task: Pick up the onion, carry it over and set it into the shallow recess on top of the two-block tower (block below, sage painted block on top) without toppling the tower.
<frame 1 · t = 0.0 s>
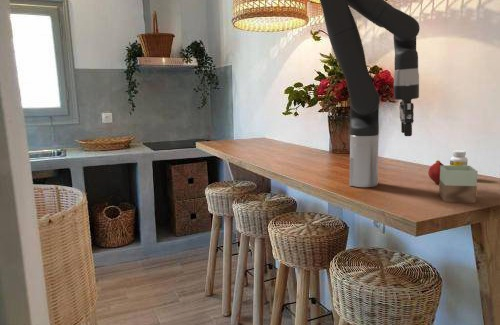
hand: (406, 134, 129), 17 cm above the worktop, tool pointing down, fingers open, 8 cm apart
onion: (437, 184, 133), on the worktop
supplement bottle: (457, 179, 139), on the worktop
bottom block: (456, 199, 116), on the worktop, touching top block
top block: (457, 182, 115), point 5 cm above the worktop, touching bottom block
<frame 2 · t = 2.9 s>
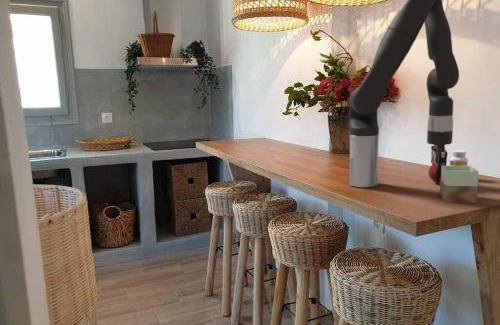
hand: (437, 178, 133), 2 cm above the worktop, tool pointing down, fingers closed on onion, 6 cm apart
onion: (437, 184, 133), on the worktop, touching gripper
bottom block: (457, 199, 116), on the worktop
top block: (458, 182, 115), point 5 cm above the worktop
everything else where it was.
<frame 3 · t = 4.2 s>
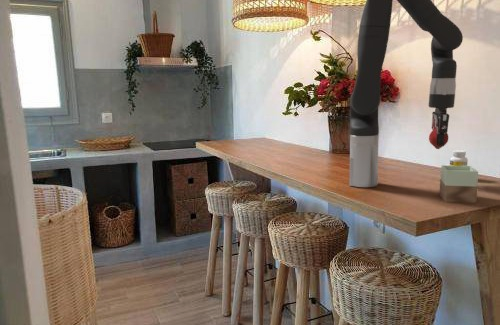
hand: (437, 144, 131), 13 cm above the worktop, tool pointing down, fingers closed on onion, 6 cm apart
onion: (437, 149, 131), point 12 cm above the worktop, touching gripper
bottom block: (457, 199, 116), on the worktop, touching top block
top block: (458, 182, 114), point 5 cm above the worktop, touching bottom block
everything else where it was.
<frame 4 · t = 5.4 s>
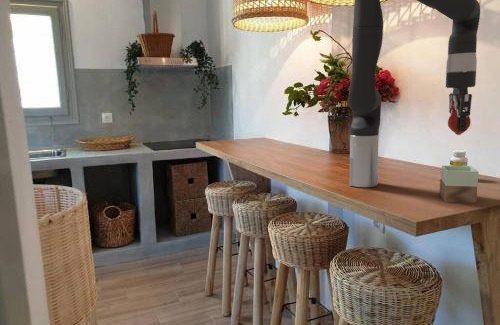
hand: (458, 129, 115), 20 cm above the worktop, tool pointing down, fingers closed on onion, 6 cm apart
onion: (458, 135, 115), point 18 cm above the worktop, touching gripper
everything else where it was.
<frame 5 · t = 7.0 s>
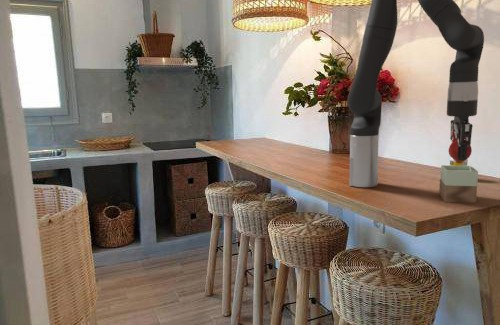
hand: (459, 157, 113), 12 cm above the worktop, tool pointing down, fingers closed on onion, 6 cm apart
onion: (459, 163, 114), point 10 cm above the worktop, touching gripper
bottom block: (456, 199, 116), on the worktop
top block: (458, 182, 115), point 5 cm above the worktop
everything else where it was.
when the fingers open (11 cm above the worktop, at t = 8.1 s): onion drops 2 cm, resting on top block.
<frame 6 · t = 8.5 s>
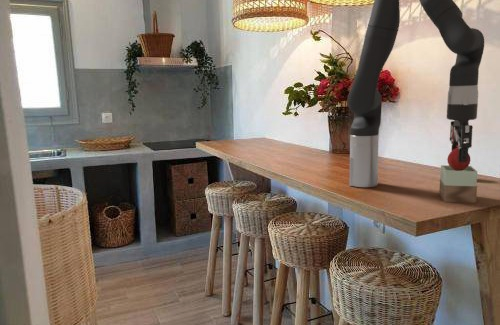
hand: (458, 159, 113), 12 cm above the worktop, tool pointing down, fingers open, 8 cm apart
onion: (458, 172, 114), point 8 cm above the worktop, touching top block
bottom block: (456, 199, 116), on the worktop, touching top block
top block: (457, 182, 115), point 5 cm above the worktop, touching bottom block, onion
everything else where it was.
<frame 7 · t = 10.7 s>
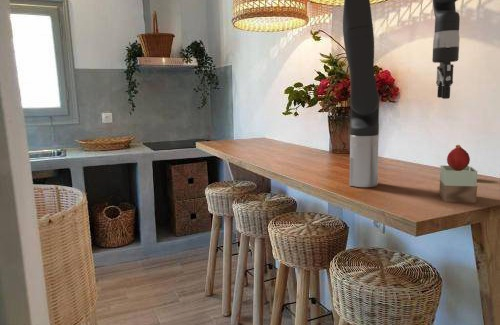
hand: (443, 98, 129), 28 cm above the worktop, tool pointing down, fingers open, 8 cm apart
nothing on the worktop moved.
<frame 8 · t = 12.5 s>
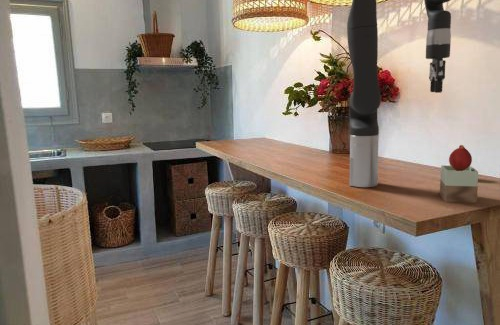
hand: (435, 92, 137), 30 cm above the worktop, tool pointing down, fingers open, 8 cm apart
nothing on the worktop moved.
at the end: onion 0.2 cm off-centre on the top block, point 2.9 cm above the top block's base; top block tilted 0°; bottom block moved 0.3 cm from its start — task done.
